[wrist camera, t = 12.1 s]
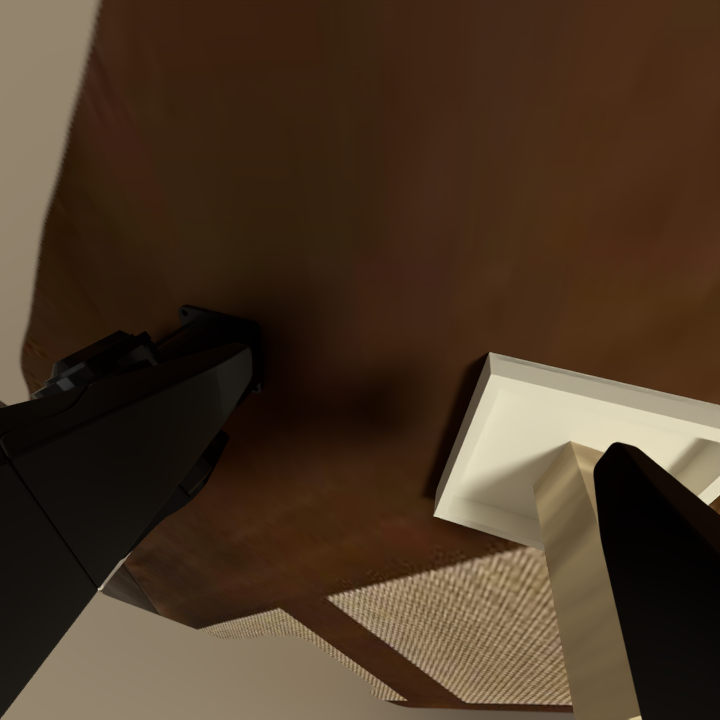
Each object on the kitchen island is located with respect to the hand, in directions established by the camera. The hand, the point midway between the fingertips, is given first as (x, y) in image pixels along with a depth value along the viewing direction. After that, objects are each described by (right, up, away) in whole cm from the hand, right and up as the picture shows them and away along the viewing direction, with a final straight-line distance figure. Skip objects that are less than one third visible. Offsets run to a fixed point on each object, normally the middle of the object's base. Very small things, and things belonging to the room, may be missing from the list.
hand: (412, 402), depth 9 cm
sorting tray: (+13, -6, +15) cm, 21 cm away
